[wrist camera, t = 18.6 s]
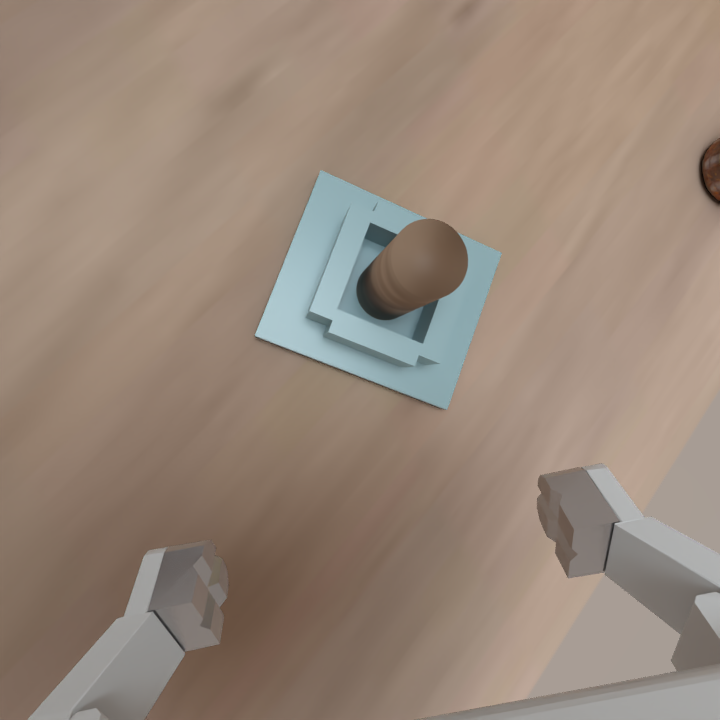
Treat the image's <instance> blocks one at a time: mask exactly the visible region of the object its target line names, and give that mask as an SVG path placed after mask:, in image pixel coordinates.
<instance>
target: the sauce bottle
mask: <svg viewBox="0 0 720 720" xmlns="http://www.w3.org/2000/svg"><path fill="white" fill-rule="evenodd" d="M702 166H703V170H702V172H703V175H704V181H705V184H706V187H707V189H708V190H709V192H711V195H713V196H714V197H715V198H716V199H717V200H719V201H720V138H719V139H717V140H716V141H715V142H713V144H712V145H711V146H710V147H709V148H708V149H707V151H706V153H705V155H704V159H703V162H702Z"/></svg>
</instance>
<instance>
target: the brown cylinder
mask: <svg viewBox="0 0 720 720" xmlns="http://www.w3.org/2000/svg"><path fill="white" fill-rule="evenodd" d="M467 268H468V254H467V249H466V246H465V244H464V242H463V240H462V238H461V237H460V235H459V234H458V233H457V232H456V231H455V230H454V229H453V228H452V227H451V226H449V225H448V224H446V223H444V222H441V221H439V220H435V219H421V220H417V221H414V222H412V223H410V224H409V225H407V226H406V227H405V228H403V229H402V230H401V231H400V232H399V234H398V235H397V236H396V237H395V238H394V239H393V240H392V241H391V242H390V243H389V244H388V245H387V246H386V247H385V249H384V250H383V251H382V252H381V253H380V254H379V255H378V256H377V257H376V258H375V259H374V260H373V261H372V262H371V263H370V265H369V266H368V267H367V268H366V269H365V270H364V271H363V272H362V274H361V275H360V277H359V279H358V282H357V287H356V293H357V298H358V301H359V303H360V305H361V307H362V308H363V310H364V311H365V312H366V313H367V314H369V315H370V316H372V317H374V318H376V319H379V320H392V319H395V318H398V317H400V316H402V315H405V314H407V313H409V312H411V311H414V310H416V309H418V308H420V307H422V306H425V305H427V304H429V303H431V302H434V301H436V300H438V299H440V298H443V297H445V296H447V295H449V294H451V293H452V292H454V291H455V290H456V289H457V288H458V287H459V286H460V285H461V283H462V282H463V280H464V278H465V275H466V272H467Z"/></svg>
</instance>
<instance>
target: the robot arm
mask: <svg viewBox="0 0 720 720" xmlns="http://www.w3.org/2000/svg"><path fill="white" fill-rule="evenodd" d="M538 487H539V489H540V491H541V494H540V495H539V497H538V498H537V510H538V515H539V519H540V522H541V525H542V527H543V529H544V531H545V533H546V536H547V537H549V538H550V539H552V540H553V541H555V542H556V549H555V554H556V556H557V557H558V559H559V561H560V563H561V565H562V567H563V569H564V571H565V573H566V575H567V577H568V578H573V577H579V576H585V575H592V574H598V573H604V572H605V575H606V576H607V577H608V578H610V579H611V580H612V581H614V582H615V583H616V584H617V585H619V586H620V587H621V588H622V589H624V590H625V591H626V592H628V593H629V594H630V595H631V596H633V597H634V598H635V599H636V600H638V601H639V602H640V603H641V604H643V605H644V606H645V607H646V608H648V609H649V610H650V611H651V612H653V613H654V614H655V615H657V616H658V617H659V618H660V619H662V620H663V621H664V622H666V623H667V624H668V625H669V626H670V627H672V628H673V629H674V630H676V631H677V632H678V633H679V634H681V636H680V638H679V641H678V643H677V646H676V648H675V651H674V654H673V656H672V659H671V662H672V663H673V665H674V667H675V668H676V670H677V671H676V672H670V673H665V674H660V675H654V676H649V677H643V678H638V679H633V680H627V681H622V682H617V683H611V684H606V685H600V686H595V687H589V688H584V689H578V690H573V691H568V692H562V693H557V694H552V695H546V696H541V697H536V698H530V699H524V700H519V701H514V702H508V703H503V704H497V705H492V706H486V707H481V708H476V709H470V710H465V711H459V712H454V713H449V714H443V715H438V716H432V717H427V718H422V719H416V720H720V554H719V553H717V552H715V551H713V550H712V549H710V548H708V547H706V546H704V545H702V544H700V543H699V542H697V541H695V540H693V539H691V538H690V537H688V536H686V535H684V534H682V533H681V532H679V531H677V530H675V529H673V528H671V527H669V526H667V525H666V524H664V523H662V522H660V521H659V520H657V519H655V518H653V517H644V516H643V514H642V513H641V512H640V510H639V509H638V508H637V506H636V505H635V504H634V502H633V501H632V500H631V498H630V497H629V496H628V494H627V493H626V492H625V490H624V489H623V488H622V486H621V485H620V484H619V482H618V481H617V479H616V478H615V477H614V475H613V474H612V473H611V471H610V470H609V469H608V467H607V466H606V465H604V464H602V463H601V464H595V465H590V466H585V467H581V468H580V467H577V468H573V469H568V470H563V471H558V472H553V473H549V474H544V475H540V476H539V478H538ZM215 552H216V546H215V545H214V543H213V542H212V540H205V541H199V542H193V543H187V544H181V545H175V546H169V547H163V548H158V549H152V550H148V552H147V553H146V554H145V556H144V557H143V560H142V563H141V566H140V569H139V572H138V575H137V578H136V581H135V584H134V587H133V590H132V593H131V596H130V599H129V602H128V605H127V608H126V611H125V614H124V617H120V618H117V619H116V620H115V621H114V623H113V624H112V625H111V626H110V627H109V628H108V629H107V630H106V632H105V633H104V634H103V635H102V636H101V637H100V638H99V639H98V641H97V642H96V643H95V644H94V645H93V646H92V647H91V648H90V650H89V651H88V652H87V653H86V654H85V655H84V656H83V657H82V659H81V660H80V661H79V662H78V663H77V664H76V665H75V666H74V668H73V669H72V670H71V671H70V672H69V673H68V674H67V675H66V677H65V678H64V679H63V680H62V681H61V682H60V683H59V684H58V686H57V687H56V688H55V689H54V690H53V691H52V692H51V693H50V695H49V696H48V697H47V698H46V699H45V700H44V701H43V702H42V704H41V705H40V706H39V707H38V708H37V709H36V710H35V712H34V713H33V714H32V715H31V716H30V717H29V718H28V720H145V718H146V716H147V715H148V713H149V712H150V710H151V708H152V707H153V705H154V704H155V702H156V700H157V699H158V697H159V696H160V694H161V692H162V691H163V689H164V688H165V686H166V684H167V683H168V681H169V679H170V678H171V676H172V675H173V673H174V671H175V670H176V668H177V667H178V665H179V663H180V662H181V660H182V659H183V657H184V655H185V652H186V651H190V650H195V649H200V648H204V647H209V646H213V645H218V644H220V641H221V634H222V628H223V621H224V614H223V613H222V611H221V609H220V606H221V605H222V604H223V602H224V601H225V600H226V598H227V594H228V586H229V584H228V571H227V568H226V564H225V563H224V561H223V559H222V558H220V557H218V556H216V555H215Z"/></svg>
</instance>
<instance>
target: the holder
mask: <svg viewBox="0 0 720 720" xmlns="http://www.w3.org/2000/svg"><path fill="white" fill-rule="evenodd" d="M421 219H427V218H424V217H422V216H420V215H418V214H416V213H413V212H411V211H409V210H407V209H405V208H403V207H400V206H398V205H396V204H394V203H392V202H389V201H387V200H385V199H383V198H381V197H378V196H376V195H374V194H372V193H370V192H368V191H365V190H363V189H361V188H359V187H357V186H354V185H352V184H350V183H348V182H346V181H344V180H341V179H339V178H337V177H335V176H333V175H330V174H328V173H326V172H324V171H322V170H321V171H320V174H319V176H318V179H317V181H316V184H315V186H314V189H313V191H312V194H311V196H310V199H309V201H308V204H307V206H306V209H305V211H304V214H303V216H302V219H301V221H300V224H299V226H298V229H297V231H296V234H295V236H294V239H293V241H292V244H291V246H290V249H289V251H288V254H287V256H286V259H285V261H284V264H283V266H282V269H281V271H280V274H279V276H278V279H277V281H276V284H275V286H274V289H273V291H272V294H271V296H270V299H269V301H268V304H267V306H266V309H265V311H264V314H263V316H262V319H261V321H260V324H259V326H258V329H257V331H256V334H255V337H257V338H259V339H262V340H264V341H267V342H270V343H272V344H275V345H277V346H280V347H283V348H285V349H288V350H290V351H293V352H295V353H298V354H301V355H303V356H306V357H308V358H311V359H314V360H316V361H319V362H321V363H324V364H327V365H329V366H332V367H334V368H337V369H340V370H342V371H345V372H347V373H350V374H353V375H355V376H358V377H360V378H363V379H366V380H368V381H371V382H373V383H376V384H379V385H381V386H384V387H386V388H389V389H391V390H394V391H397V392H399V393H402V394H404V395H407V396H410V397H412V398H415V399H417V400H420V401H423V402H425V403H428V404H430V405H433V406H436V407H438V408H441V409H445V410H447V409H448V406H449V403H450V400H451V397H452V394H453V392H454V389H455V386H456V383H457V380H458V377H459V374H460V371H461V369H462V366H463V363H464V360H465V357H466V354H467V351H468V348H469V346H470V343H471V340H472V337H473V334H474V331H475V328H476V326H477V323H478V320H479V317H480V314H481V311H482V308H483V305H484V303H485V300H486V297H487V294H488V291H489V288H490V285H491V282H492V280H493V277H494V274H495V271H496V268H497V265H498V262H499V260H500V257H501V254H502V253H501V252H499V251H496V250H494V249H492V248H490V247H488V246H485V245H483V244H481V243H479V242H477V241H475V240H472V239H470V238H468V237H466V236H464V235H461V234H459V233H458V234H459V235H460V237H461V238H462V240H463V242H464V244H465V246H466V249H467V254H468V268H467V272H466V275H465V278H464V280H463V282H462V283H461V285H460V286H459V287H458V288H457V289H456V290H455V291H454V292H452V293H451V294H449V295H447V296H445V297H443V298H440V299H438V300H436V301H434V302H431V303H429V304H427V305H425V306H422V307H420V308H418V309H416V310H414V311H411V312H409V313H407V314H405V315H402V316H400V317H398V318H395V319H392V320H379V319H376V318H374V317H372V316H370V315H369V314H367V313H366V312H365V311H364V310H363V308H362V307H361V305H360V303H359V301H358V298H357V293H356V287H357V282H358V279H359V277H360V275H361V274H362V272H363V271H364V270H365V269H366V268H367V267H368V266H369V265H370V263H371V262H372V261H373V260H374V259H375V258H376V257H377V256H378V255H379V254H380V253H381V252H382V251H383V250H384V249H385V247H386V246H387V245H388V244H389V243H390V242H391V241H392V240H393V239H394V238H395V237H396V236H397V235H398V234H399V232H400V231H401V230H402V229H403V228H405V227H406V226H407V225H409V224H410V223H412V222H414V221H417V220H421Z"/></svg>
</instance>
